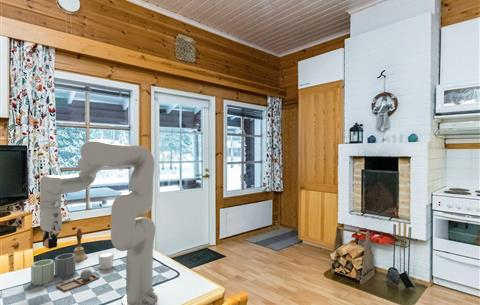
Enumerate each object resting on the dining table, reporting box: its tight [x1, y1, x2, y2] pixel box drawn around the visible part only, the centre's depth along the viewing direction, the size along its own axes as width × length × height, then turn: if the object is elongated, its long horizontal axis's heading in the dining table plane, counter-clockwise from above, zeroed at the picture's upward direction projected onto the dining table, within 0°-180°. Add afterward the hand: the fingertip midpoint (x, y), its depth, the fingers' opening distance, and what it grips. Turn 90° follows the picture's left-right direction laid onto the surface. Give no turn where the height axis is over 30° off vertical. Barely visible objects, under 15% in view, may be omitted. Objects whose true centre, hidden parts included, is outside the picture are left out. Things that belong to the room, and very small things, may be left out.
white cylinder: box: [98, 251, 114, 270], centre depth 134 cm, size 7×7×7 cm
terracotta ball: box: [43, 238, 49, 249], centre depth 119 cm, size 4×4×4 cm
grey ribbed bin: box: [54, 252, 76, 278], centre depth 127 cm, size 8×8×9 cm
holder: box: [56, 273, 100, 293], centre depth 118 cm, size 7×14×2 cm, turn 146°
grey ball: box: [80, 268, 93, 280], centre depth 121 cm, size 4×4×4 cm
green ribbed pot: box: [30, 259, 55, 286], centre depth 120 cm, size 8×8×9 cm
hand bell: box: [73, 228, 89, 263], centre depth 147 cm, size 8×8×16 cm
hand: (49, 246), depth 119 cm, fingers closed on terracotta ball, 4 cm apart
